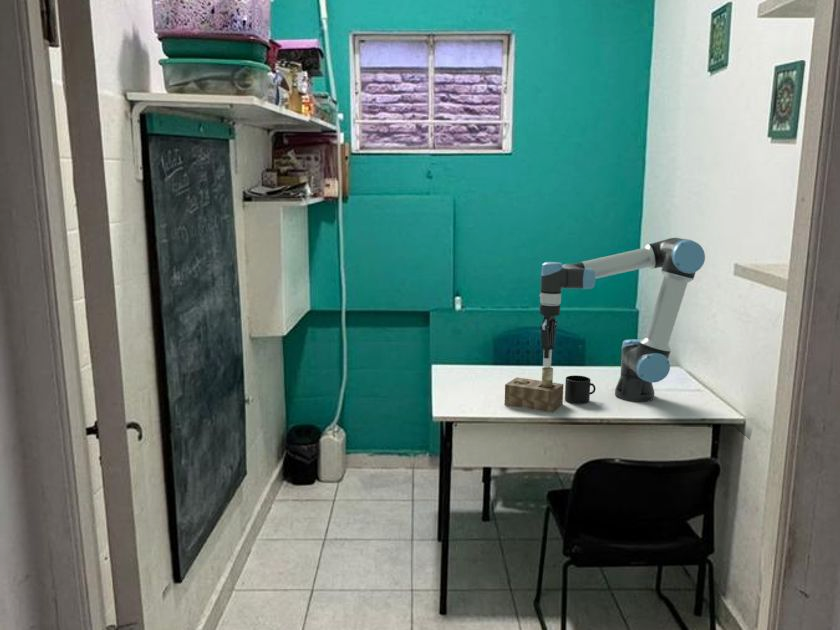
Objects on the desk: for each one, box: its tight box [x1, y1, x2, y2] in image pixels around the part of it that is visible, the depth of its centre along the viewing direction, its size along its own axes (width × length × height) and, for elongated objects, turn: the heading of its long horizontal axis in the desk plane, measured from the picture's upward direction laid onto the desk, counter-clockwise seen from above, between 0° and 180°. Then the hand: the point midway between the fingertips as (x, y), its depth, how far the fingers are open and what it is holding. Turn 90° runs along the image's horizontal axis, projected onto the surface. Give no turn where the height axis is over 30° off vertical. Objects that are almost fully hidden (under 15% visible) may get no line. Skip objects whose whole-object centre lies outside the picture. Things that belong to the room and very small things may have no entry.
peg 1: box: [517, 380, 527, 385], centre depth 268 cm, size 4×4×8 cm
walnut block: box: [504, 376, 564, 413], centre depth 265 cm, size 19×12×8 cm, turn 61°
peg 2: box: [541, 366, 554, 389], centre depth 262 cm, size 4×4×8 cm
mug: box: [564, 374, 596, 405], centre depth 271 cm, size 9×12×9 cm
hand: (546, 366), depth 261 cm, fingers closed
